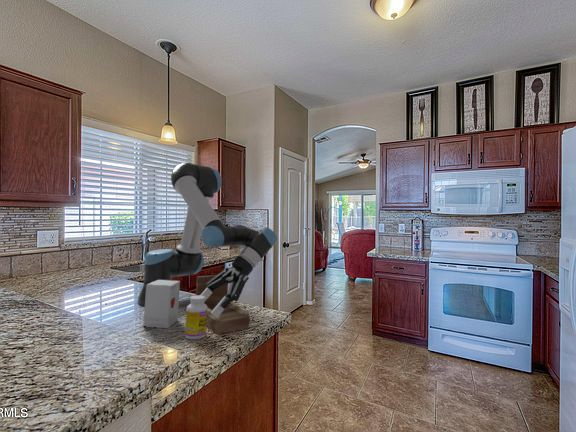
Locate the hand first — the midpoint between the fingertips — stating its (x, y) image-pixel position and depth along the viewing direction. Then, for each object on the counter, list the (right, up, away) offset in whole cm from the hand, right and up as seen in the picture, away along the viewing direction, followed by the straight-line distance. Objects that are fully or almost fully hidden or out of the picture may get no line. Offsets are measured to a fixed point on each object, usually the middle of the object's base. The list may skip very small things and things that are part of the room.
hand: (204, 309), depth 97 cm
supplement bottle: (-3, -9, -1) cm, 9 cm away
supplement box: (-18, -8, +9) cm, 22 cm away
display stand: (+3, -9, +13) cm, 16 cm away
